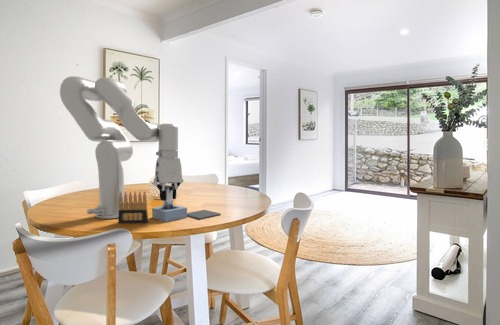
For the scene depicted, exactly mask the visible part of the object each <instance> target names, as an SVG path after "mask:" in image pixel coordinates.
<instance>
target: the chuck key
mask: <svg viewBox="0 0 500 325" xmlns="http://www.w3.org/2000/svg"><path fill="white" fill-rule="evenodd" d="M173 190H175V187H173V186H171V185H167V184H165V191H166V200H165V201H163V200H162V206H163V209H165V210H170V209H173V204H174V199H173Z"/></svg>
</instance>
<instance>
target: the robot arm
mask: <svg viewBox="0 0 500 325" xmlns="http://www.w3.org/2000/svg"><path fill="white" fill-rule="evenodd" d="M59 96H60V99H61V102H62V104H63V105H64V107H65V108H66V110H67V111H68V112H69V113H70V115H71V117H72V118H73V120H74V121H75V122H76V124H77V125H78V127H79V128H80V129H81V131H82V132H83V134H84V135H85V137H86V138H87V139H88V140H90V141H92V142H99V143H98V144H97V145H96V148H95V153H94V155H95V160H96V163H97V170H98V196H99V197H98V198H99V201H98V202H99V205H98V204H97V205H96V207H94V208H90V209H86V214H87V215H95V218H97V219H101V220H103V219H104V220H111V219H118V217H119V195H120V192H121V193H122V196H123V206H124V194H125V182H124V181H125V177H124V176H125V175H124V168H123V164H122V162H126V161H128V160H130V159H131V157H132V156H133V153H134V150H133V146H132V144H131V142H130V140H129V139H128V138H127V137H126V135H125V134H124V132H123V131H122V129H121V128H120V126H119V125H118V124H117V123H115V122H114V121H112V120H110V119H103V118H102V117H100V115H99V114H98V113H97V112H96V110H95V109H94V107H93V106H92V105H91V104H89V102H87V101H91V102H92V101H93V102H104V103H105V104H107V105H108V106H109V107H110V109H112V110H113V112H115V113H116V115H117V117H118V120H119V121H120V124H121V125H122V126H123V127H124V128H125V130H127V132H129V134H131V135H132V137H133V138H134V139H136V140H138V141H140V142H144V143H145V142H146V143H147V142H151V143H152V142H158V150H157V151H156V152H155V156H158V157H157V158H156V162H155V169H154V171H155V172H154V178H153V180H152V181H151V185H153V186H154V187H156V188H157V190H158V191H159V198H160V201H162V202H163V201H165V200H166V191H165V185H167V184H170V186H173V187H175V190H173V200H176V199H177V190H178V189H179V187H180V185H181V184H183V183H184V179H183V170H182V162H181V159H180V157H179V127H178V125H177V124H175V123H160V124H159V123H154V122H153V123H152V122H147V121H145V120H144V119H143V118H142V117H141V116H140V115H139V114H138V112H137V111H136V110H135V104H136V103H135V100H133V98H132V97H131V96H130V95H129V94H128V93H127V88H126V86H125V85H124V83H122V82H121V81H119V80H116V79H114V78H112V77H111V78H110V77H107V76H106V77H105V76H103V77H100V78H98V79H97V80H96V81H95V80H91V79H87V78H84V77H80V76H68V77H66V78H64V79H63V81H62V82H61V84H60V87H59Z"/></svg>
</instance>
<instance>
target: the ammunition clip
mask: <svg viewBox="0 0 500 325" xmlns="http://www.w3.org/2000/svg"><path fill="white" fill-rule="evenodd" d="M117 219H118V221H117V222H118V224H147V223H148V222H149V214H148V202H147V194H146V191H143V195H142V193H141V191H139V192H138V195H137V192H136V191H134V193H133V192H132V191H130V192H129V195H128V194H127V191H124V206H123V196H122V193H121V192H120V195H119V217H118V218H117Z"/></svg>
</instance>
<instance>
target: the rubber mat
mask: <svg viewBox="0 0 500 325" xmlns="http://www.w3.org/2000/svg"><path fill="white" fill-rule="evenodd" d="M221 215H222V214H221V213H220V212H217V211H212V210H207V209H202V210H195V211H191V212H187V217H189V218H193V219H196V220H199V221H200V220H203V219H204V220H205V219H209V218H213V217H218V216H221Z"/></svg>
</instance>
